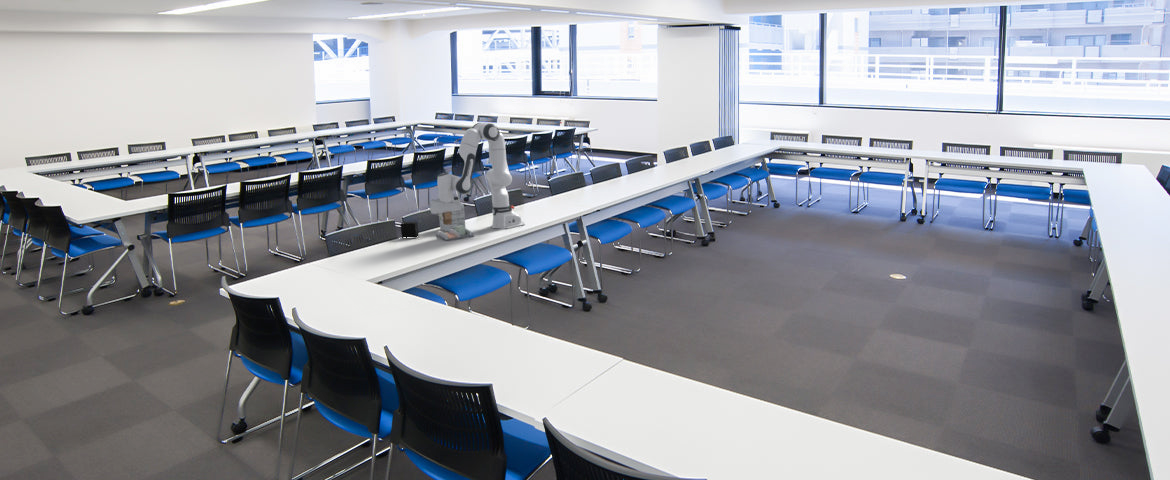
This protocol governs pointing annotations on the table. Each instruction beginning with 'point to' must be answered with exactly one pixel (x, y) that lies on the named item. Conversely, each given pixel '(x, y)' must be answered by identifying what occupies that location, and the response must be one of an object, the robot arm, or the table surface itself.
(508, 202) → the robot arm
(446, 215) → the walnut plug
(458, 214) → the supplement box
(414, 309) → the table surface
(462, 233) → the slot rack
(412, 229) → the electronic device
